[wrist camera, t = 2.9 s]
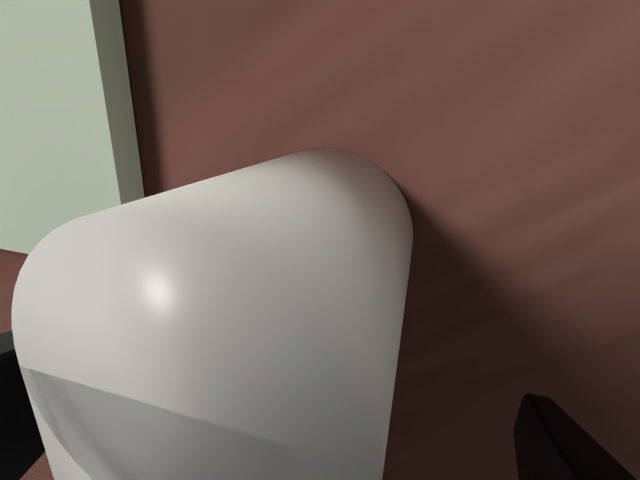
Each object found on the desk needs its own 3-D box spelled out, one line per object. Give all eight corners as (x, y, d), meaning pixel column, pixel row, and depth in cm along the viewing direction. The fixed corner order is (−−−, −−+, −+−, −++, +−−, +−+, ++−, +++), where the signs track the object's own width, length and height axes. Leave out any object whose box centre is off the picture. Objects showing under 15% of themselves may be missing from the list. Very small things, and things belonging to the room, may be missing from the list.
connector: (372, 525, 11) (327, 856, 6) (256, 487, 12) (136, 745, 7) (425, 155, 7) (416, 247, 2) (246, 141, 8) (-36, 186, 3)
